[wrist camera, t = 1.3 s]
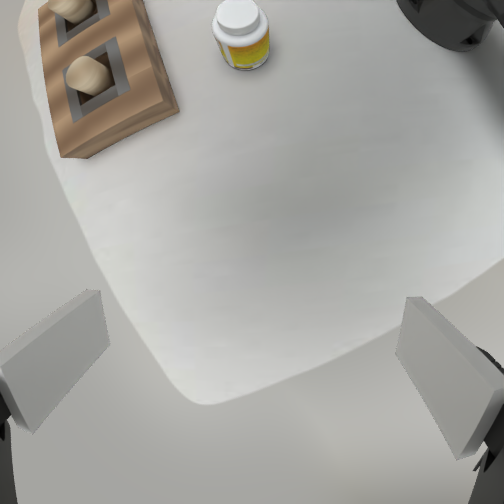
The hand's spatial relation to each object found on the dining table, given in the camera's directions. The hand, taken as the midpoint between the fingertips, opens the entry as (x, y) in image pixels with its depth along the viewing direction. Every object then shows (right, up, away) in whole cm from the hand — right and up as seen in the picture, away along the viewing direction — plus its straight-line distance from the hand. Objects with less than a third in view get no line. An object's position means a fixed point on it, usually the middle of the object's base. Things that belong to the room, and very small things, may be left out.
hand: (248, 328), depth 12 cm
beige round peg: (-22, +34, +14) cm, 42 cm away
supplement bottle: (-1, +27, +19) cm, 33 cm away
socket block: (-19, +30, +20) cm, 40 cm away
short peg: (-18, +23, +18) cm, 34 cm away
